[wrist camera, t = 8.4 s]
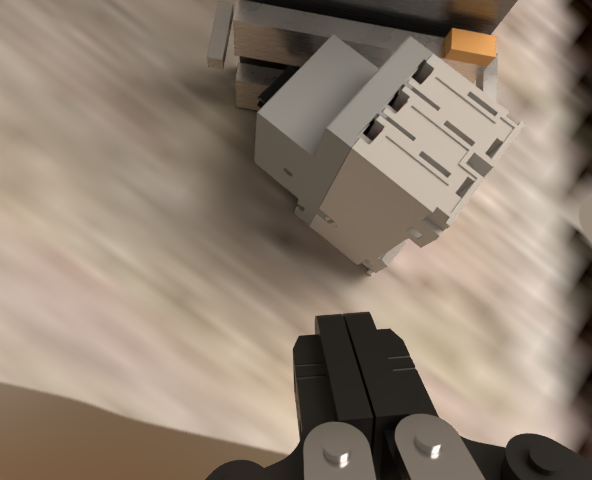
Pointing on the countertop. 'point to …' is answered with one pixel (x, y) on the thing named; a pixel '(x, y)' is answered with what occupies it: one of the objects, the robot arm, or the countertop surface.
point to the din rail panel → (381, 23)
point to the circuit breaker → (378, 146)
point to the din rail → (359, 36)
